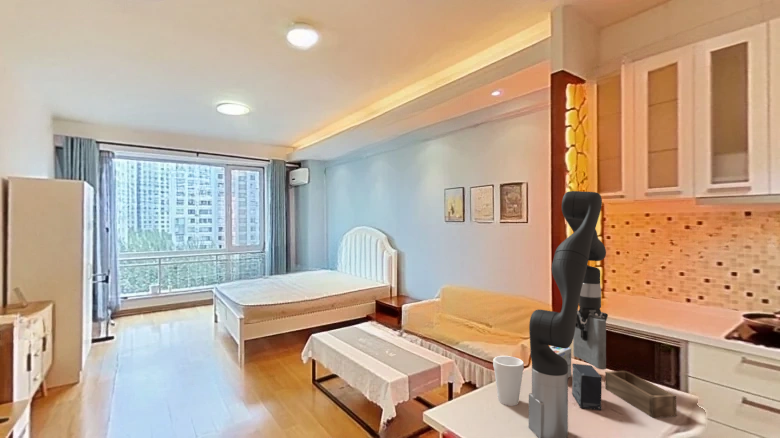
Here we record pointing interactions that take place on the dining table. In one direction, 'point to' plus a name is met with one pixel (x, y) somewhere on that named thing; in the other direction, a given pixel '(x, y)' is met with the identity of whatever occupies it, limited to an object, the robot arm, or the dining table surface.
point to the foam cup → (508, 378)
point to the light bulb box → (564, 356)
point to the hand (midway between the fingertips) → (589, 339)
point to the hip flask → (592, 342)
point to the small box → (586, 386)
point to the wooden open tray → (641, 394)
